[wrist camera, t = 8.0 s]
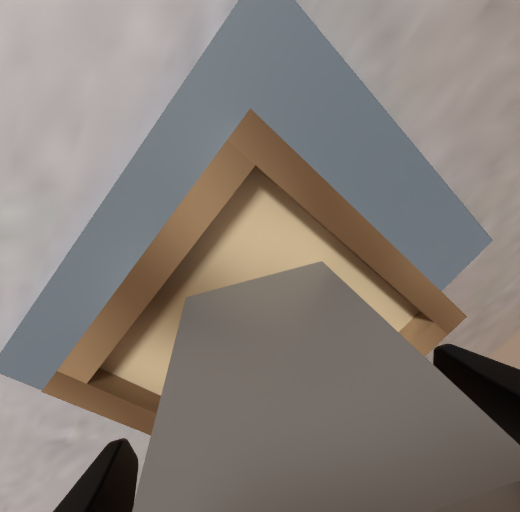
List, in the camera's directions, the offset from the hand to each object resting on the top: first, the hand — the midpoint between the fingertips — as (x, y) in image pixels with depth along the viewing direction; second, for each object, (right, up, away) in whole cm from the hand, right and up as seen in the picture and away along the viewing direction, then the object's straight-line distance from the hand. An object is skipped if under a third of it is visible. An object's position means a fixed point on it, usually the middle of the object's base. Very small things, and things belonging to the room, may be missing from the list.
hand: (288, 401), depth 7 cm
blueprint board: (-1, +2, +6) cm, 7 cm away
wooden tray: (-1, +2, +6) cm, 6 cm away
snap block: (0, +1, +3) cm, 3 cm away
